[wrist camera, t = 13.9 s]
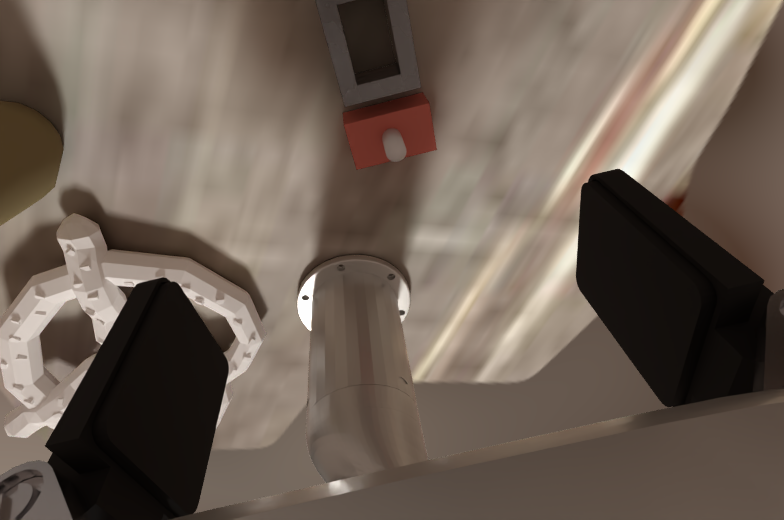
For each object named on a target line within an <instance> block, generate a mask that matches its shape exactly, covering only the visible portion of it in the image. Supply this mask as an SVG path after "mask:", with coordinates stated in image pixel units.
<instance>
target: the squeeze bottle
mask: <svg viewBox="0 0 784 520" xmlns="http://www.w3.org/2000/svg"><path fill="white" fill-rule="evenodd" d="M62 154H63V145H62V141H61V137H60V135H59V133H58V132H57V131H56V129H55V128H54V126H53V125H52V123H51V122H50V121H49V120H47V119H46V118H45V117H44V116H42V115H41V114H40V113H39V112H37V111H36V110H34V109H32V108H29V107H27V106H25V105H23V104H20V103H16V102H8V101H0V226H1V225H2V224H4V223H5V222H7V221H8V220H10V219H11V218H13V217H14V216H16V215H17V214H19V213H21V212H22V211H24V210H25V209H27V208H28V207H30V206H31V205H33V204H34V203H36V202H37V201H39V200H40V199H42V198H43V197H44V196H45V195H46V194H47V193H48V192H50V191H51V190H52V189H53V188H54V187H55V184H56V180H57V176H58V172H59V167H60V163H61V158H62Z"/></svg>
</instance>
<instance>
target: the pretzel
mask: <svg viewBox="0 0 784 520" xmlns="http://www.w3.org/2000/svg"><path fill="white" fill-rule="evenodd" d="M56 235H57V240H58V242H59V244H60V246H61V248H62V249H63V252H64V257H65V261H66V265H63V266H60V267H57V268H54V269H51V270H48V271H45V272H42V273H39V274H36V275H33V276H32V277H31V279H30V280H29V281H28V283H27V284H26V285H25V287H24V288H23V289H22V291H21V292H20V293H19V295H18V296H17V297H16V299H15V300H14V301H13V303H12V304H11V305H10V307H9V308H8V309H7V311H6V312H5V313H4V315H3V316H2V317H1V319H0V364H1V370H2V375H3V381H4V386H5V388H6V389H7V390H8V391H9V392H10V393H12V394H13V395H14V396H15V397H16V398H17V399H18V400H19V401H21V402H22V403H23V404H22V405H20V406H19V407H17V408H16V409H14V410H13V411H11V412H9V413H8V414H6V415H5V423H4V428H5V431H6V433H7V435H8V436H11V437H12V436H13V437H23V438H27V437H28V436H30V435H31V434H33V433H34V432H35V431H37V430H38V429H40V428H42V427H43V426H49V427H50V428H53V429H55V427H56V425H57V424H58V422H59V420H60V418H61V416H62V415H63V413H64V411H65V409H66V408H67V406H68V404H69V402H70V400H71V399H72V397H73V395H74V393H75V392H76V390H77V388H78V386H79V384H80V383H81V381H82V379H83V377H84V376H85V374H86V372H87V370H88V368H89V367H90V365H91V363H92V361H93V360H94V358H95V356H96V354H97V353H96V354H93V355H92V356H90V357H88V358H87V359H85V360H84V361H83V362H82V363H81V364H80V365H79V366H78V367H77V368H76V369H75V370H73V371H72V372H71V373H70V374H69V375H68V376H67V377H66V378H65V379H64V380H62V381H61V382H59V381H58V380H57V379H56V378H55V377H54V376H53V375H52V374H51V373H50V372H49V371H48V370H47V369H46V368H45V367H44V364H43V356H42V348H41V341H40V333H41V332H42V331H43V329H44V328H45V327H46V326H47V324H48V323H49V322H50V320H51V319H52V318H53V317H54V315H55V314H56V313H57V312H58V310H59V309H60V308H61V307H62V305H63V304H64V303H65V302H66V301H68V300H71V299H74V298H77V299H78V301H79V303H80V305H81V307H82V309H83V310H84V311H85V313H87V314H88V315H89V316H90V317H91V318H92V322H93V328H94V333H95V338H96V341H97V342H98V343H100V344H101V345H102V344H103V342H104V340H105V338H106V336H107V335H108V333H109V331H110V329H111V328H112V326H113V324H114V322H115V320H116V319H117V317H118V315H119V313H120V312H121V310H122V308H123V306H124V304H125V303H126V301H127V299H126V295H125V294H124V293H123V292H122V290H121V289H120V288H119V287H118V286H127V287H135V286H136V284H138V283H141V282H145V281H149V280H154V279H158V278H162V277H164V278H167V279H168V280H170V282H172V281H174V282H177V283H178V284H179V285H180V287H181V288H182V290H183V291H184V293H185V294H186V296H187V297H189V298H191V299H193V300H194V301H195V303H197V304H200V305H204V306H206V307H208V308H209V309H211V310H213V311H215V312H217V313H219V314H221V315H223V316H224V317H226V319H227V321H228V323H229V324H230V326H231V328H232V330H233V331H234V333H235V335H236V338H235V339H234V341H233V343H232V345H231V347H230V348H229V349H228V350H227V351H225V352H224V355H225V356H226V358H227V361H228V365H229V373H228V378H227V382H226V387H225V391H224V395H223V399H222V404H221V408H220V412H219V417H218V421H217V425H216V428H217V426H218V425H219V423H220V421H221V419H222V417H223V415H224V413H225V411H226V409H227V407H228V405H229V403H230V401H231V398H232V396H233V390H232V386H231V381H232V380H233V379H235V378H236V377H238V376H239V375H241V374H242V373H243V372H245V371H246V370H247V369H248V367H249V366H250V364H251V362H252V360H253V358H254V357H255V355H256V353H257V351H258V349H259V347H260V346H261V344H262V342H263V340H264V338H265V336H266V334H267V333H266V331H265V329H264V327H263V324H262V322H261V320H260V317H259V315H258V313H257V311H256V308H255V306H254V304H253V301H252V299H251V297H250V295H249V294H248V292H247V291H245V290H244V289H242V288H240V287H239V286H237V285H235V284H233V283H232V282H230V281H228V280H227V279H225V278H223V277H221V276H220V275H218V274H216V273H215V272H213V271H211V270H209V269H208V268H206V267H204V266H203V265H201V264H199V263H197V262H196V261H194V260H192V259H191V258H187V257H178V256H169V255H160V254H151V253H142V252H133V251H124V250H115V249H112V250H109V251H108V250H107V245H106V243H105V240H104V238H103V236H102V233H101V230H100V227H99V224H97V223H95V222H93V221H92V220H90V219H88V218H86V217H84V216H81V215H79V214H75V213H73V214H71V215H70V216H68V217H66V218H65V219H63V221H62V223H61V225H60V227H59V228H58V230H57V232H56Z"/></svg>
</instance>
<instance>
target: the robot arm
mask: <svg viewBox="0 0 784 520" xmlns="http://www.w3.org/2000/svg"><path fill="white" fill-rule="evenodd" d="M576 280H577V284H578V287H579V289H580V291H581V292H582V294H583V295H584V297H585V298H586V299H587V301H588V302H589V303H590V305H591V306H592V308H593V309H594V310H595V312H596V313H597V315H598V316H599V317H600V319H601V320H602V321H603V323H604V324H605V326H606V327H607V328H608V330H609V331H610V332H611V334H612V335H613V337H614V338H615V339H616V341H617V342H618V343H619V345H620V346H621V348H622V349H623V350H624V352H625V353H626V354H627V356H628V357H629V359H630V360H631V361H632V363H633V364H634V366H635V367H636V368H637V370H638V371H639V372H640V374H641V375H642V377H643V378H644V379H645V381H646V382H647V383H648V385H649V386H650V388H651V389H652V390H653V392H654V393H655V394H656V396H657V397H658V399H659V400H660V401H661V402H662V404H664V405H665V406H667V407H671V408H666V409H661V410H656V411H651V412H646V413H641V414H636V415H631V416H626V417H622V418H617V419H613V420H608V421H604V422H599V423H595V424H590V425H585V426H581V427H576V428H572V429H567V430H563V431H558V432H553V433H549V434H544V435H540V436H535V437H531V438H526V439H522V440H517V441H512V442H508V443H503V444H499V445H495V446H490V447H485V448H481V449H476V450H472V451H467V452H463V453H458V454H454V455H449V456H445V457H440V458H436V459H431V460H429V459H428V455H427V451H426V447H425V443H424V437H423V433H422V428H421V423H420V417H419V412H418V407H417V402H416V397H415V391H414V386H413V381H412V376H411V370H410V365H409V360H408V355H407V349H406V344H405V339H404V334H403V328H402V322H403V320H404V319H405V317H406V316H407V313H408V311H409V308H410V301H411V298H410V291H409V287H408V283H407V281H406V280H405V278H404V276H403V275H402V274H401V272H400V271H399V270H398V269H397V268H395V267H394V266H393V265H391V264H390V263H388V262H386V261H384V260H382V259H379V258H375V257H372V256H366V255H346V256H341V257H336V258H333V259H331V260H328V261H325V262H324V263H322V264H320V265H319V266H317V267H316V268H314V269H313V270H312V271H311V272H310V273H309V274H308V275H307V276H306V277H305V279H304V280H303V281H302V284H301V286H300V288H299V292H298V297H297V309H298V314H299V316H300V318H301V320H302V322H303V323H304V325H305V326H306V327H307V328H308V329H309V330H310V351H309V374H308V396H307V420H306V442H307V447H308V451H309V455H310V457H311V460H312V462H313V464H314V466H315V468H316V469H317V471H318V473H319V474H320V475H321V477H322V478H323V480H324V481H325V482H326V483H325V484H320V485H316V486H312V487H308V488H303V489H299V490H294V491H290V492H286V493H282V494H277V495H273V496H269V497H264V498H260V499H256V500H251V501H247V502H242V503H238V504H234V505H229V506H225V507H221V508H216V509H212V510H208V511H204V512H199V513H195V514H193V513H194V512H195V511H196V509H197V506H198V503H199V499H200V495H201V490H202V486H203V482H204V477H205V473H206V469H207V464H208V460H209V456H210V451H211V447H212V443H213V438H214V434H215V430H216V425H217V421H218V417H219V412H220V408H221V404H222V399H223V395H224V391H225V387H226V382H227V378H228V373H229V365H228V361H227V358H226V356H225V355H224V353H223V352H222V350H221V349H220V347H219V346H218V344H217V343H216V341H215V339H214V338H213V336H212V335H211V333H210V332H209V330H208V329H207V327H206V325H205V324H204V322H203V321H202V319H201V318H200V316H199V315H198V313H197V312H196V310H195V308H194V307H193V305H192V304H191V302H190V301H189V299H188V298H187V296H186V294H185V293H184V291H183V290H182V288H181V287H180V285H179V284H178V283H177V282H174V281H172V282H170V280H168V279H167V278H164V277H162V278H158V279H154V280H149V281H145V282H141V283H138V284H136V286H135V287H134V288H133V290H132V292H131V294H130V296H129V297H128V299H127V301H126V303H125V304H124V306H123V308H122V310H121V312H120V313H119V315H118V317H117V319H116V320H115V322H114V324H113V326H112V328H111V329H110V331H109V333H108V335H107V336H106V338H105V340H104V342H103V344H102V345H101V347H100V349H99V351H98V352H97V354H96V356H95V358H94V360H93V361H92V363H91V365H90V367H89V368H88V370H87V372H86V374H85V376H84V377H83V379H82V381H81V383H80V384H79V386H78V388H77V390H76V392H75V393H74V395H73V397H72V399H71V400H70V402H69V404H68V406H67V408H66V409H65V411H64V413H63V415H62V416H61V418H60V420H59V422H58V424H57V425H56V427H55V429H54V431H53V432H52V434H51V436H50V438H49V440H48V441H47V443H46V445H45V447H47V448H48V449H49V450H50V451H51V452H53V453H52V455H51V457H50V459H49V461H48V462H44V461H39V460H38V461H31V462H26V463H24V464H21V465H19V466H16V467H14V468H12V469H10V470H9V471H7V472H6V473H4V474H2V475H1V476H0V520H784V289H782V290H778V291H777V292H776V293H773V292H771V291H770V290H769V289H768V288H766V287H765V286H764V285H763V283H764V280H763V279H762V278H761V277H760V276H758V275H757V274H756V273H754V272H753V271H752V270H750V269H749V268H748V267H747V266H745V265H744V264H743V263H741V262H740V261H739V260H738V259H736V258H735V257H734V256H732V255H731V254H729V253H728V252H727V251H726V250H725V249H723V248H722V247H721V246H719V245H718V244H717V243H716V242H714V241H713V240H712V239H710V238H709V237H708V236H706V235H705V234H704V233H703V232H701V231H700V230H699V229H697V228H696V227H695V226H693V225H692V224H691V223H689V222H688V221H687V220H686V219H685V218H683V217H682V216H681V215H679V214H678V213H677V212H675V211H674V210H673V209H672V208H670V207H669V206H668V205H666V204H665V203H664V202H663V201H661V200H660V199H659V198H657V197H656V196H655V195H653V194H652V193H651V192H650V191H648V190H647V189H646V188H644V187H643V186H642V185H641V184H639V183H638V182H637V181H635V180H634V179H633V178H631V177H630V176H629V175H628V174H626V173H625V172H624V171H622V170H620V169H615V170H611V171H607V172H602V173H598V174H594V175H592V176H591V177H590V178H589V180H588V183H584V184H583V186H582V189H581V202H580V218H579V235H578V251H577V268H576ZM672 406H673V407H672Z"/></svg>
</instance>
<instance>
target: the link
mask: <svg viewBox="0 0 784 520" xmlns="http://www.w3.org/2000/svg"><path fill="white" fill-rule="evenodd" d="M315 1H316V5H317V8H318V12H319V15H320V19H321V23H322V26H323V30H324V33H325V37H326V41H327V44H328V48H329V51H330V55H331V59H332V62H333V66H334V69H335V73H336V76H337V80H338V84H339V87H340V91H341V94H342V98H343V102H344V105H345V107H347V106H351V105H354V104H358V103H362V102H366V101H370V100H374V99H378V98H382V97H386V96H389V95H393V94H397V93H401V92H405V91H409V90H413V89H417V88H421V85H420V79H419V73H418V67H417V61H416V55H415V49H414V43H413V37H412V31H411V25H410V19H409V13H408V7H407V1H406V0H383V3H384V8H385V13H386V18H387V23H388V29H389V34H390V39H391V44H392V49H393V54H394V59H395V64H391V65H387V66H383V67H379V68H375V69H371V70H368V71H364V72H360V73H356V74H355V73H354V69H353V65H352V61H351V57H350V53H349V49H348V45H347V41H346V37H345V33H344V30H343V26H342V22H341V18H340V14H339V10H338V6H337V5H339V4H342V3H346V2H350V1H354V0H315Z"/></svg>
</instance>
